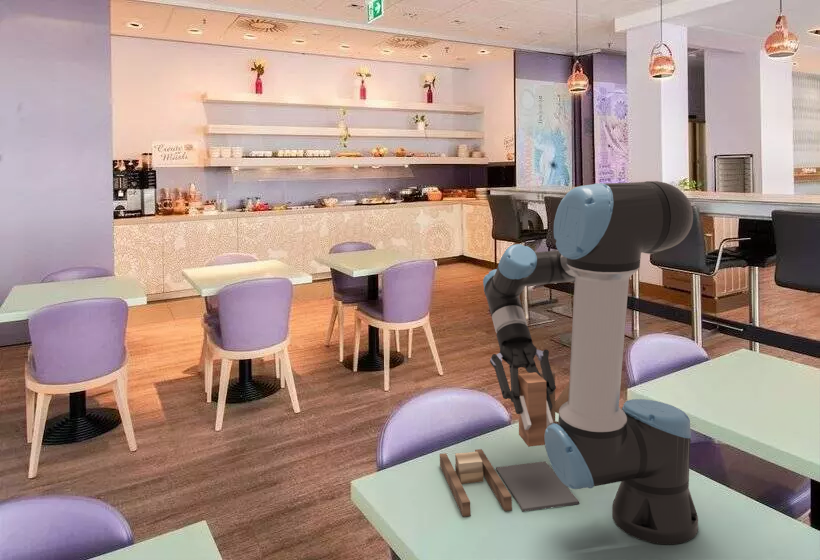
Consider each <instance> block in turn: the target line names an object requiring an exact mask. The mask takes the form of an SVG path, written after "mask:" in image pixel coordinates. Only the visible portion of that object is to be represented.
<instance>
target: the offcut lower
mask: <svg viewBox="0 0 820 560" xmlns="http://www.w3.org/2000/svg"><path fill="white" fill-rule="evenodd" d="M454 465H455V466H454V467H455V468H454V470H455V472H456V474H457V476H458V478H459V480H460V482H461V484H462V485H464V484H470V483H471V484H473V483H474V484H475V483H481V482H484V476H483V472H479V473H469V474H459V472H458V469H457V466H456V463H455V464H454Z"/></svg>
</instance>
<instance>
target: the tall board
mask: <svg viewBox="0 0 820 560" xmlns="http://www.w3.org/2000/svg"><path fill="white" fill-rule="evenodd" d="M518 379H519V397H520V396H524V399H525V403H526V407H527V410H528V414H529V417H530V421H531V426H530V428H529V430H525V429H524V425H523V421H522V417H521V414H518V436H519V437H520V438H521V439H522V441H523V442H524V443H525V444H526V446H527V447H528V448H529V447H537V446H538V447H539V446H545V430H546V428H547V419H546V411H547V406H546V381H545V380H544V379H543V378H542V377H541V376H540V375H538V374H537V373H536V372H534V373H528V372H525V373H518Z"/></svg>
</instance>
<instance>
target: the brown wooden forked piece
mask: <svg viewBox="0 0 820 560" xmlns="http://www.w3.org/2000/svg"><path fill="white" fill-rule="evenodd" d="M551 371H552V375H553V378H554V382H555V383H556V373H555V371H554V370H552V369H551ZM539 373H540V375H541V377H542V378H543V379H544V377H543V373H542V370H541V371H540V372H539ZM549 396H550V399H551V403H552V409H551V411H550V413H551V416H552V420H553V423H555V424H557V423H558V421H557V420H556V414H558V415H559V409H560V407H561V406H562V405H563V404H564V403H566V402H567V401H568V397H569V382H568V383H567V384H566V386H565V387H564V388H563V390H562V391H561V393H560V394H559V395H558V397H557V399H556V390H555V391H554V392H553V394H550V395H549Z"/></svg>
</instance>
